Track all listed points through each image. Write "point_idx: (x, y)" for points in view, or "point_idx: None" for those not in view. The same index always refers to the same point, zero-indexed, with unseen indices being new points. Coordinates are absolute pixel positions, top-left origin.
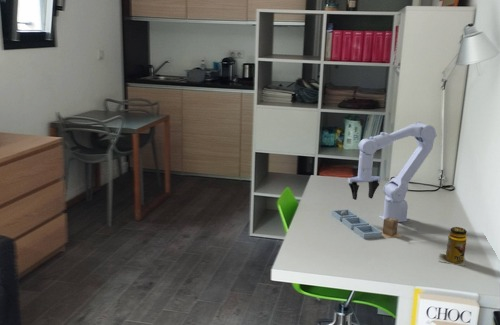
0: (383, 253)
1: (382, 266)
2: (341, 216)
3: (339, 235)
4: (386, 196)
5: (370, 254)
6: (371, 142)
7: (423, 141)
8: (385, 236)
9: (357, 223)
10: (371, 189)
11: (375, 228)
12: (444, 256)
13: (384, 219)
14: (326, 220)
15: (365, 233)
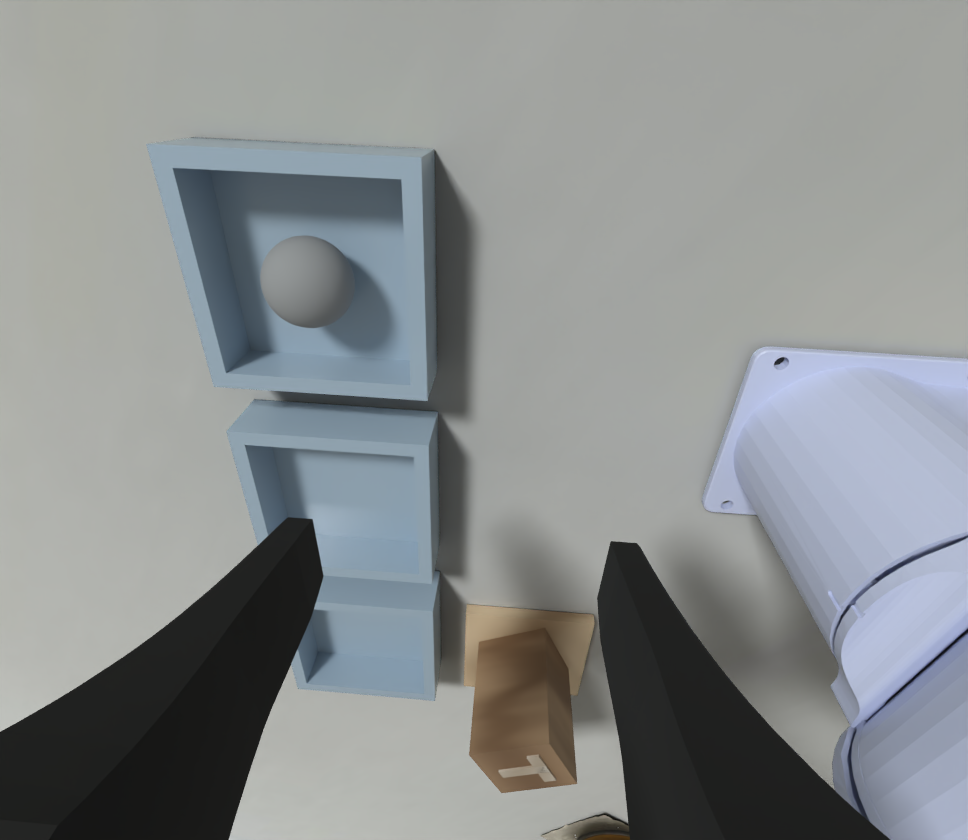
0: (347, 754)
1: (286, 802)
2: (230, 387)
3: (172, 568)
4: (957, 600)
5: (279, 745)
6: None
7: None
8: (467, 672)
9: (393, 458)
10: (638, 752)
11: (426, 656)
12: (603, 824)
13: (471, 756)
14: (109, 271)
15: (310, 687)
